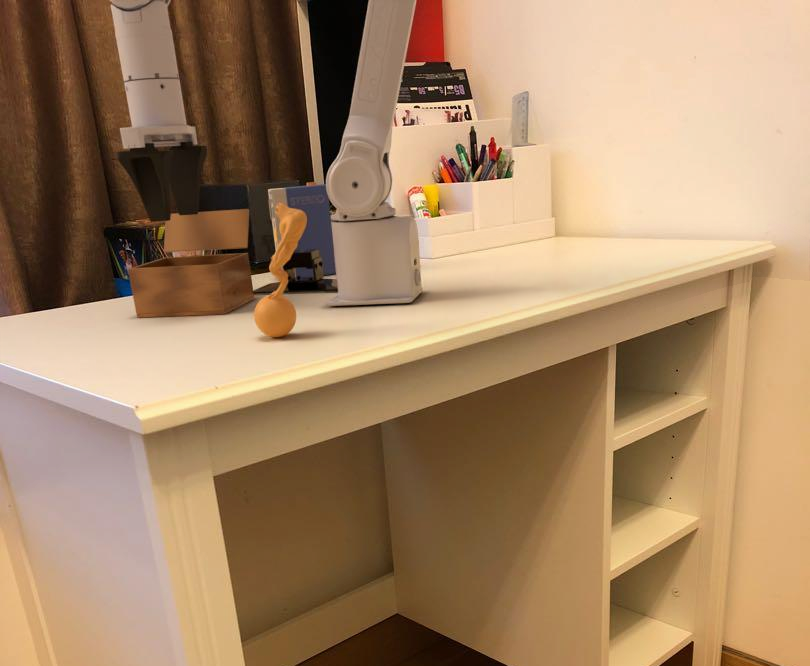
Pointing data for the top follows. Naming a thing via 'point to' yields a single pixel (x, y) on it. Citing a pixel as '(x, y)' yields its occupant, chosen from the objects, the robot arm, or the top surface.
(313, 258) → the black angular piece
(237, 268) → the carton
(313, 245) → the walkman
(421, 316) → the top surface
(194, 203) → the robot arm
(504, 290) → the top surface
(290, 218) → the figurine
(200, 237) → the flap
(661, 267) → the top surface
